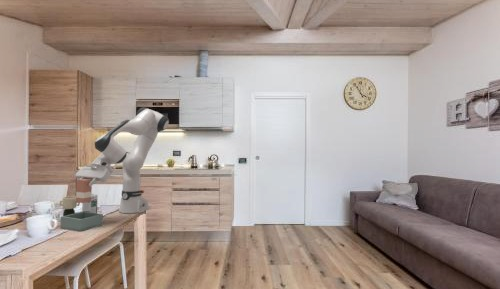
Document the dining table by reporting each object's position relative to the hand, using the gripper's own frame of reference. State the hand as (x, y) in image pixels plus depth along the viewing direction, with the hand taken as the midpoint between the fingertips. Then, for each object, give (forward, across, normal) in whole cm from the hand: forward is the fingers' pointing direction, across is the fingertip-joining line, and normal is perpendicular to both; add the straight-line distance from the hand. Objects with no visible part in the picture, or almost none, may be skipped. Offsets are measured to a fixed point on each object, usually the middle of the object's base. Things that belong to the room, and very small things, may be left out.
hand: (84, 185), depth 156 cm
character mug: (+10, -19, +22) cm, 31 cm away
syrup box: (+6, -10, +26) cm, 29 cm away
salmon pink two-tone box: (+6, 0, +6) cm, 9 cm away
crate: (+16, 0, +16) cm, 22 cm away
